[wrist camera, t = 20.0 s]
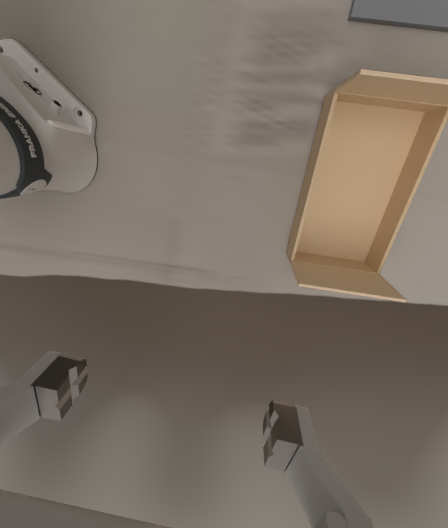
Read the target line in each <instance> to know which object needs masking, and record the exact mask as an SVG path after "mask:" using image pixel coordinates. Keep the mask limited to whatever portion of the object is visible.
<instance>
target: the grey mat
mask: <svg viewBox="0 0 448 528" xmlns="http://www.w3.org/2000/svg"><path fill="white" fill-rule="evenodd" d="M348 20H350V21H359V22H368V23H377V24H386V25H394V26H403V27H412V28H421V29H430V30H438V31H447V32H448V0H353V2H352V6H351V10H350V14H349V18H348Z"/></svg>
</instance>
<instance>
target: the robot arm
mask: <svg viewBox="0 0 448 528" xmlns="http://www.w3.org/2000/svg"><path fill="white" fill-rule="evenodd" d="M2 49H3V53H2ZM80 111H81V112H82V116H81V115H80ZM95 128H96V119H95V117H94V115H93V114H92V112H91V111H89V110H88V109H87V108H86V107H85V106H84V105H83V104H82V103H81V102H80V101H79V100H78V99H77V98H76V97H75V96H74V95H73V94H72V93H71V92H70V91H69V90H68V89H67V88H66V87H65V86H64V85H63V84H62V83H61V82H60V81H59V80H58V79H57V78H56V77H55V76H54V75H53V74H52V73H51V72H50V71H49V70H48V69H47V68H45V67H44V66H43V65H42V64H41V63H40V62H39V61H38V60H37V59H36V58H35V57H34V56H33V55H32V54H31V53H30V52H29V51H28V50H27V49H26V48H25V47H24V46H23V45H22V44H21V43H20V42H18V41H17V40H14V39H2V40H0V199H2V198H9V197H16V196H23V195H28V194H32V193H35V192H38V191H58V192H63V193H74V192H77V191H80V190H82V189H84V188H85V187H86V186H87V185H88V184H89V183H90V182H91V181H92V179H93V177H94V175H95V172H96V167H97V152H96V147H95V141H94V134H95ZM86 366H87V360H86V359H83V358H78V357H75V356H70V355H66V354H62V353H58V352H54V351H50V352H48V353H46V354H45V355H44V356H43V357H42V358H41V359H40V360H39V361H38V362H37V363H36V364H35V365H34V366H33V367H32V368H31V369H30V370H29V371H28V372H27V373H26V374H25V375H24V376H23V377H22V378H21V379H20V380H19V381H18V382H12V383H9V384H7V385H5V386H3V387H1V388H0V445H2V444H3V443H5V442H6V441H7V440H9V439H10V438H12V437H13V436H15V435H16V434H18V433H19V432H21V431H22V430H24V429H25V428H26V427H28V426H29V425H31V424H32V423H34V422H35V421H37V420H38V419H39V418H40V417H43V418H49V419H54V420H59V421H61V420H62V419H63V418H64V416H65V415H66V413H67V412H68V411H69V409H70V408H71V406H72V399H74V398H75V397H77V396H79V395H80V393H81V392H82V390H83V389H84V387H85V385H86V382H87V378H88V372H87V371H86V370H85V367H86ZM263 437H264V439H265V441H266V443H265V445H264V447H263V451H264V466H266V467H270V468H274V469H277V470H281V471H285V474H286V476H287V478H288V480H289V482H290V484H291V486H292V488H293V490H294V492H295V495H296V497H297V499H298V500H299V503H300V505H301V507H302V509H303V511H304V513H305V515H306V517H307V519H308V521H309V523H310V525H311V527H312V528H374V527H373V524H372V521H371V519H370V518H369V516H368V514H367V513H366V512H365V510H364V509H363V508H362V506H361V505H360V503H359V502H358V501H357V499H356V498H355V497H354V495H353V494H352V492H351V491H350V490H349V488H348V487H347V486H346V484H345V483H344V481H343V480H342V479H341V477H340V476H339V475H338V474H337V472H336V470H335V469H334V468H333V466H332V465H331V464H330V462H329V461H328V459H327V458H326V457H325V455H324V454H323V453H322V451H321V450H318V449H317V446H316V442H315V437H314V433H313V429H312V424H311V420H310V416H309V412H308V409H307V408H306V407H302V406H297V405H294V404H289V403H285V402H280V401H275V400H271V401H270V403H269V410H268V411H266V413H265V416H264V420H263ZM0 528H171V527H166V526H162V525H157V524H153V523H149V522H144V521H139V520H135V519H131V518H126V517H122V516H118V515H113V514H108V513H104V512H100V511H95V510H91V509H86V508H82V507H78V506H73V505H68V504H64V503H60V502H55V501H50V500H46V499H42V498H38V497H33V496H28V495H24V494H20V493H15V492H11V491H6V490H2V489H0Z"/></svg>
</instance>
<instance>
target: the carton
mask: <svg viewBox="0 0 448 528" xmlns="http://www.w3.org/2000/svg"><path fill="white" fill-rule="evenodd" d="M447 119H448V80H447V79H439V78H431V77H422V76H414V75H406V74H397V73H389V72H381V71H372V70H364V69H361V70H359V71H358V72H357V73H355V74H354V75H353V76H351V77H350V78H349V79H347V80H346V81H345V82H343V83H342V84H340V85H339V86H338V87H336V88H335V89H334V90H332V91H331V92H330V93H328V94H327V95H326V96H325V98H324V102H323V106H322V110H321V114H320V118H319V122H318V126H317V130H316V134H315V138H314V142H313V146H312V150H311V154H310V158H309V162H308V166H307V170H306V174H305V178H304V183H303V187H302V191H301V195H300V199H299V203H298V207H297V211H296V215H295V219H294V223H293V227H292V231H291V235H290V239H289V243H288V247H287V251H286V253H287V256H288V258H289V261H290V264H291V267H292V269H293V272H294V275H295V278H296V280H297V283H298V286H302V287H308V288H315V289H322V290H328V291H335V292H341V293H348V294H354V295H361V296H368V297H374V298H381V299H387V300H394V301H400V302H406V299H405V298H404V297H403V296H402V295H401V294H400V293H399V292H398V291H397V290H396V289H395V288H394V287H393V286H392V285H390V284H389V283H388V282H387V281H386V280H385V279H384V278H383V277H382V276H381V275H380V271H381V269H382V267H383V265H384V262H385V260H386V258H387V256H388V253H389V251H390V249H391V246H392V244H393V242H394V240H395V237H396V235H397V233H398V231H399V228H400V226H401V224H402V221H403V219H404V217H405V215H406V212H407V210H408V208H409V206H410V203H411V201H412V199H413V196H414V194H415V192H416V190H417V187H418V185H419V183H420V181H421V178H422V176H423V174H424V172H425V169H426V167H427V165H428V162H429V160H430V158H431V156H432V153H433V151H434V149H435V147H436V144H437V142H438V140H439V137H440V135H441V133H442V131H443V128H444V126H445V124H446V122H447Z"/></svg>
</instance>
